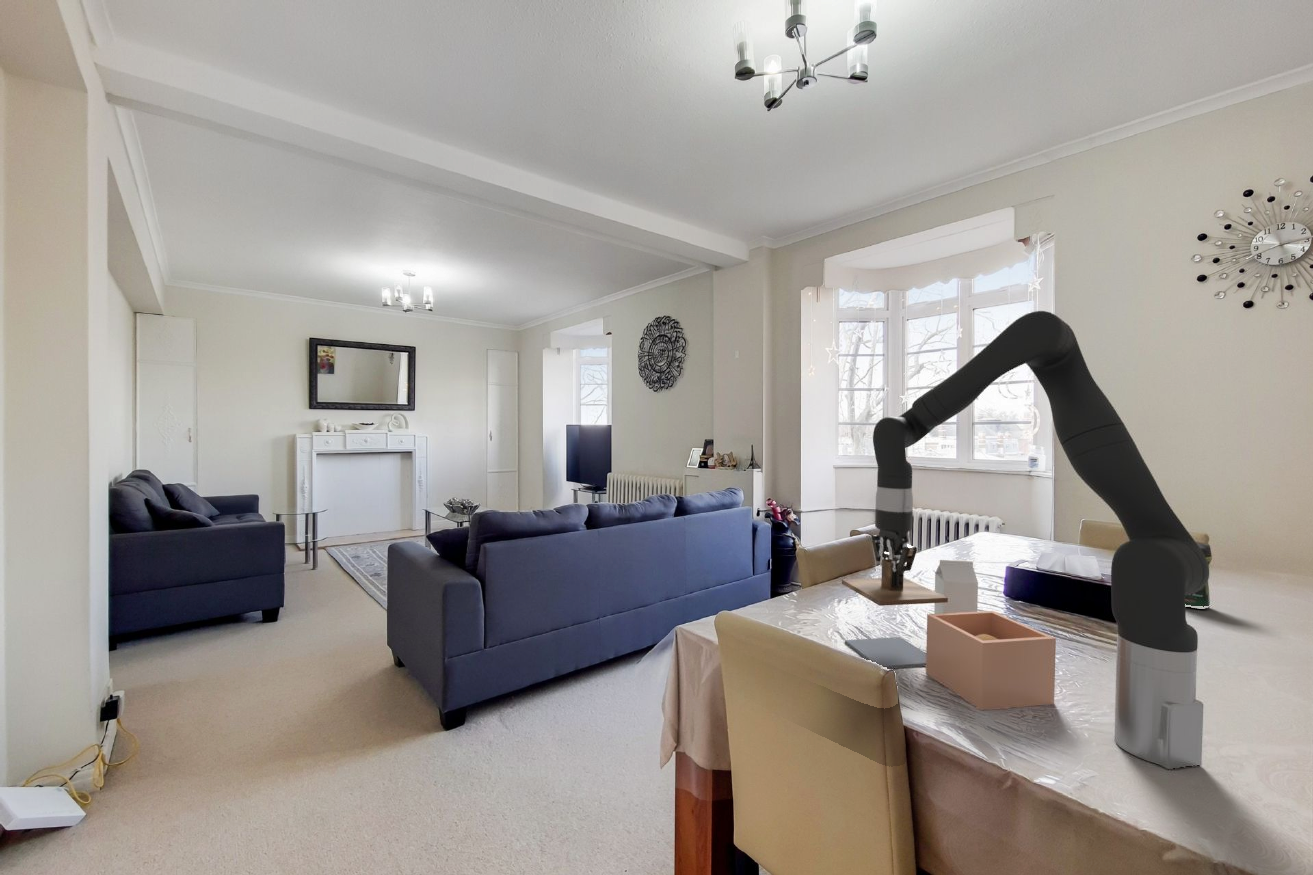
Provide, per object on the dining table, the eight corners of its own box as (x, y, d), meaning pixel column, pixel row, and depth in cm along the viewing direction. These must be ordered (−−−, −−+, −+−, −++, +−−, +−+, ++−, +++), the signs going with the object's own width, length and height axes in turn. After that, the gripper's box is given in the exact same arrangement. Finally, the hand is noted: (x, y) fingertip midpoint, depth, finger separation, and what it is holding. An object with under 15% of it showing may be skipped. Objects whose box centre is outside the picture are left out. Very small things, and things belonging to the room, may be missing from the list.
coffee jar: (1161, 604, 159) (1163, 539, 159) (1165, 598, 164) (1167, 536, 164) (1208, 612, 152) (1210, 545, 151) (1211, 606, 157) (1213, 541, 157)
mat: (940, 664, 117) (940, 661, 117) (879, 669, 114) (879, 666, 114) (900, 639, 131) (900, 636, 131) (844, 642, 128) (845, 640, 128)
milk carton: (976, 648, 125) (978, 565, 125) (942, 646, 127) (944, 563, 126) (965, 637, 132) (967, 557, 132) (933, 634, 134) (935, 556, 133)
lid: (947, 602, 116) (948, 569, 116) (879, 605, 113) (880, 571, 113) (902, 581, 131) (903, 551, 131) (841, 583, 129) (842, 553, 128)
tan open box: (1054, 703, 101) (1055, 638, 100) (981, 710, 98) (982, 643, 98) (990, 667, 115) (992, 610, 115) (925, 672, 113) (927, 614, 113)
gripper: (930, 512, 115) (928, 594, 116) (890, 502, 129) (889, 576, 130) (897, 513, 114) (895, 596, 115) (861, 503, 128) (859, 577, 128)
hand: (892, 585), depth 122 cm, fingers closed on lid, 3 cm apart
